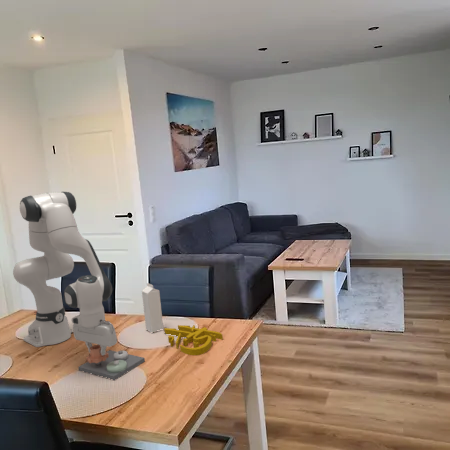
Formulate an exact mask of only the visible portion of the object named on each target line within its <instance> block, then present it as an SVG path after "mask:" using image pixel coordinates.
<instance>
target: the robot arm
mask: <svg viewBox="0 0 450 450" xmlns="http://www.w3.org/2000/svg"><path fill="white" fill-rule="evenodd" d="M76 211H77V200H76V198H75V196H74V195H73V193H71V192H70V191H61V192H60V191H57V192H56V191H55V192H54V191H53V192H52V191H51V192H46V193H39V194H35V195H27V196H24V197H23V198H22V199H20V203H19V212H20V215H21V218H22V219H24V220H25V222H28V238H29V239H28V240H29V246H31V248H32V249H33V250H35V251H38V252H41V253H44V254H43V255H42V256H37V257H31V258H26V259H24V260H22V261H19V262H17V263H16V264H15V265H14V266H13V271H12V275H13V278H14V279H15V281H16V282H17V283H18V284H20V285H22V286H25V287H26V288H27V289H29V290H30V292H31V293H32V295H33V298H34V302H35V307H36V311H34V312H33V313H34V315H35V320H33V321H32V323H31V324H30V325H29V326H28V327H27V328H28V329H27V330H28V332H27V335H26V336H24V337H23V341H24V342H26V343H28V344H29V345H32V346H33V347H35V348H40V347H44V346H51V345H57V344H60V343H63V342H65V341H67V340H69V339H70V338H71V337H72V333H73V337H74V339H75V340H76V341H80V342H84V343H85V346H86V347H87V350H88V353H89V354H90V347H92V346H93V345H100V347H101V350H100V351H99V353H100V355H105V354H106V352H107V351H106V349H107V347H108V348H110V347H113V346H115V345H116V344H117V343H118V338H117V332H116V330H115V327H114V324H113V323H112V322H111V321H109V320H106V316H105V308H104V305H103V302H107V301H108V300H109V298H110V297H111V295H112V293H113V285H112V282H111V281H110V279H109V278H108V276H107V274H106V273H105V271H104V268H103V266H102V264H101V262H100V260H99V258H98V255H97V253H96V251H95V249H94V247H93V245H92V243H91V242H90V241H89V239H86V238H84V237H83V235H82V234H81V233H80V230H79V229H78V225H77V223H76V218H75V217H74V213H75V212H76ZM71 255H74V256H76V257H77V256H78V257H80V258H82V259H83V260H84V262H85V264H86V265H87V268H88V271H89V272H90V274H87V275H86V274H85V275H82V276H79V277H78V278H77V280H76V281H75V282H73V283H70V284H68V285H67V286H66V287H65V289H64V290H63V297H62V292H61V290H60V289H59V288H57V287H53V286H51V285H48V284H47V283H46V282H47V281H49V280H54V279H59V278H63V277H64V276H67V275H69V274H72V273H73V270H74V268H75V262H74V259H73V257H72V256H71ZM63 299H64V303H65V304H66V305H67V306H68V307H70V308H72V309H77V308H78V309H79V314H78V315H75V316H73V317H72V318H71V323H72V329H70V323H69V321H68V317H67V316H66V310H65V309H66V308H65V306H64V305H63V304H64V303H63Z"/></svg>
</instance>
